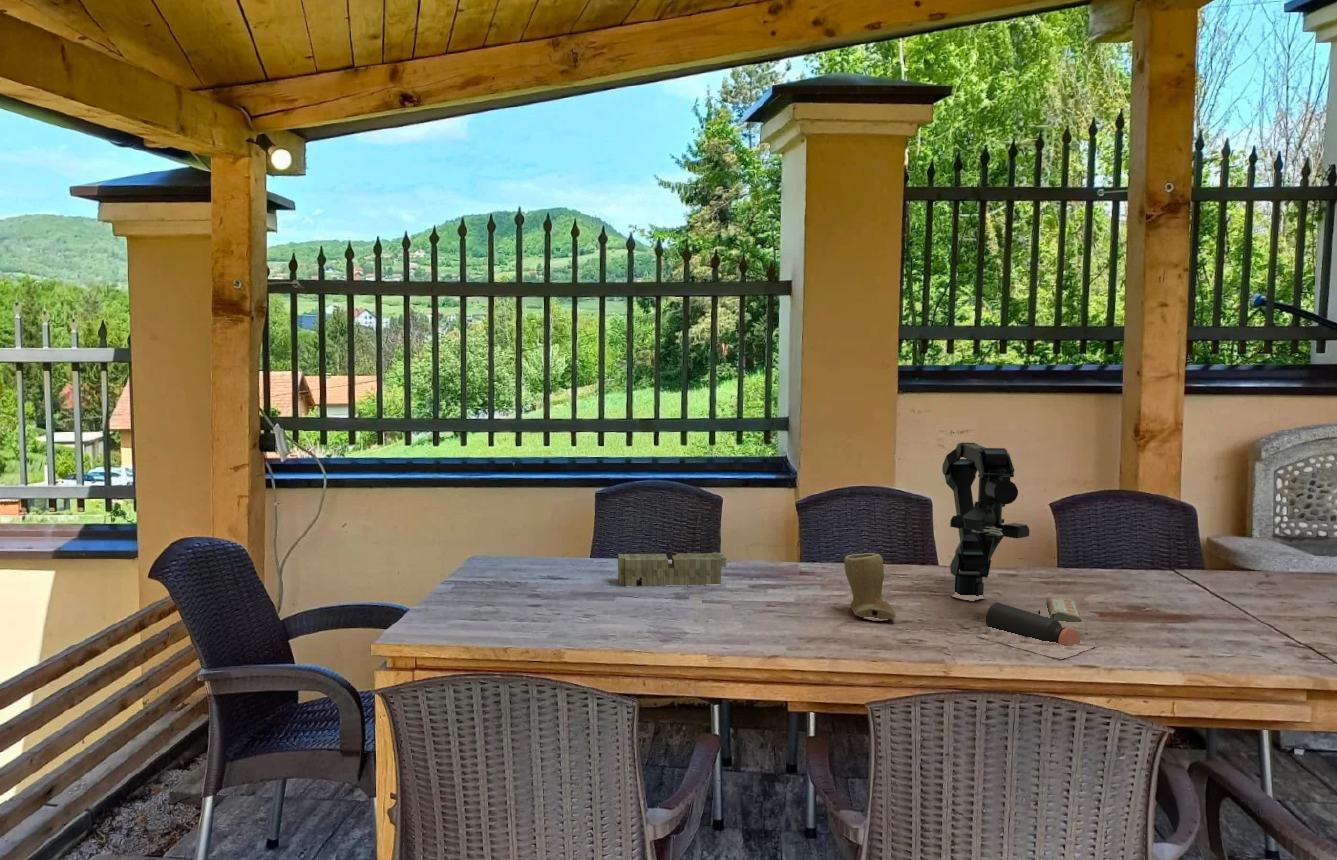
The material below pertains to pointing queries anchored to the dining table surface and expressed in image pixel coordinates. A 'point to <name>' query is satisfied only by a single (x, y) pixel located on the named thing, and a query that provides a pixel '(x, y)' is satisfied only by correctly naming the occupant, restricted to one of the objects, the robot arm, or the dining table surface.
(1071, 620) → the packaged product
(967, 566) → the robot arm
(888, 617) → the olive green boot
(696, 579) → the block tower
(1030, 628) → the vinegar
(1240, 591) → the dining table surface
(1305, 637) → the dining table surface
